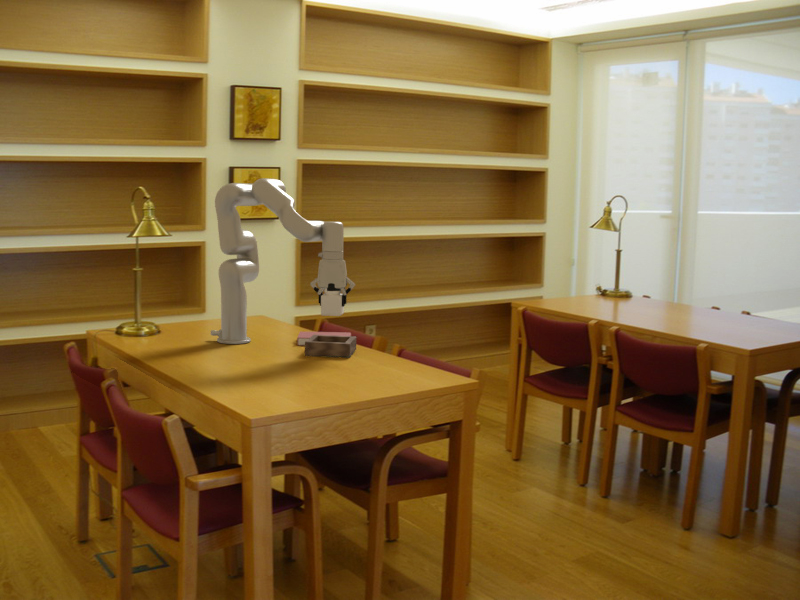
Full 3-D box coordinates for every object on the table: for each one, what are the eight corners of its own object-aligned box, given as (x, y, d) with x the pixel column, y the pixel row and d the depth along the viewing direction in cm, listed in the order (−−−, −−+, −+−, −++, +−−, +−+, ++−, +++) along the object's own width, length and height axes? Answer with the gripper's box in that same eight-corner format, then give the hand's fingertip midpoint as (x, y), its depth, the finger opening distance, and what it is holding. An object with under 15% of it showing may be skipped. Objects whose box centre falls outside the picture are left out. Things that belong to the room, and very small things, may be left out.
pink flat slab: (297, 345, 314) (297, 337, 314) (299, 339, 329) (299, 331, 328) (350, 346, 315) (350, 338, 315) (350, 340, 330) (350, 332, 329)
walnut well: (304, 355, 295) (304, 342, 294) (313, 347, 310) (313, 334, 310) (349, 358, 293) (349, 343, 293) (356, 349, 309) (356, 336, 308)
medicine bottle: (343, 313, 303) (344, 280, 302) (340, 316, 296) (340, 282, 295) (324, 312, 304) (324, 280, 302) (320, 315, 297) (320, 281, 295)
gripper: (306, 256, 295) (306, 306, 297) (355, 257, 293) (355, 307, 295) (310, 255, 302) (310, 303, 304) (358, 256, 300) (358, 305, 303)
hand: (332, 305), depth 300 cm, fingers closed on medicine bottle, 7 cm apart
